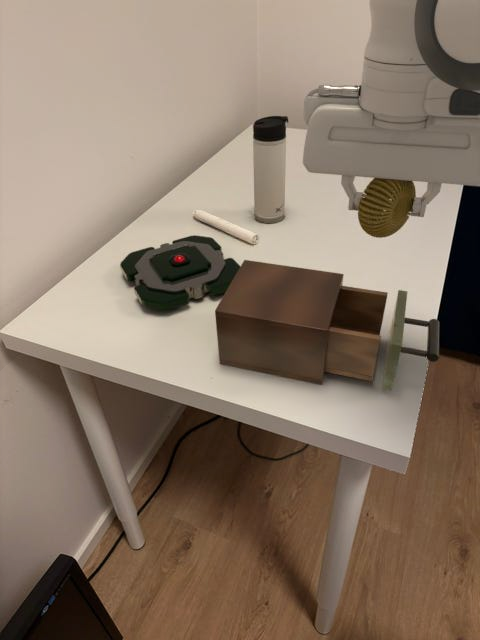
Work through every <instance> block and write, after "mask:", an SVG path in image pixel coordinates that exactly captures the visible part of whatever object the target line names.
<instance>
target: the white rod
mask: <svg viewBox="0 0 480 640" xmlns="http://www.w3.org/2000/svg"><path fill="white" fill-rule="evenodd" d="M192 214H193V216H194V218H195V219H197V220H198V221H200V222H202V223H205V224H207V225H208V226H211V227H213V228H216V229H218V230H220V231H222V232H224V233H227V234H229V235H231V236H233V237H236V238H238V239H240V240H243V241H245V242H246V243H249V244H252V245H256V244H257V243H259V240H260V236H259V234H257V233H256V232H253V231H251V230H249V229H246V228H244V227H242V226H239V225H237V224H235V223H232V222H230V221H227V220H226V219H222V218H221V217H218V216H216V215H214V214H211V213H209V212H207V211H204V210H202V209H194V210H193V211H192Z"/></svg>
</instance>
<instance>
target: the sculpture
mask: <svg viewBox="0 0 480 640" xmlns="http://www.w3.org/2000/svg"><path fill="white" fill-rule="evenodd" d="M416 193H417V191H416V186H415V183H414V181H407V180H394V179H382V178H372V180H370V182H369V183H368V184H367V185H366V187H365V188H364V190H363V194H362V196H363V197H362V198H361V199H360V202H359V208H358V211H357V219H358V223H359V225H360V227H361V229H362V230H363V231H364V232H365V234H367V235H368V236H371V237H373V238H378V239H381V238H382V239H383V238H387V237H390V236H392V235H394V234H396V233H398V231H400V230H401V229H402V228H403V227H404V226H405V224H406V223H407V222H408V221H409V219H410V216H411V211H412V206H413V200H414V197H417V194H416Z"/></svg>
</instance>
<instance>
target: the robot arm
mask: <svg viewBox="0 0 480 640" xmlns="http://www.w3.org/2000/svg"><path fill="white" fill-rule="evenodd" d="M369 12H370V19H371V20H370V21H371V22H370V23H371V25H370V33H369V36H368V41H367V43H366V45H365V49H364V54H363V63H362V74H361V83H360V85H357V84H356V85H346V84H345V85H331V84H320V85H318V87H317V88H315V89H312V90H310V91H309V92H308V93H307V95H306V96H305V98H304V101H303V120H304V122H305V124H306V125H307V128H306V134H305V138H304V144H303V154H302V165H303V166H304V168H305V169H306V171H307V172H308V173H311V174H321V175H333V176H341V180H340V184H341V187H342V188H343V190H344V192H345V194H346V196H347V198H348V206H347V209H348V211H356V212H358V208H359V202H360V199H361V198H362V197H363V196H362V194H364V191H357V189H356V186H355V183H354V181H355V180H356V177H359V178H371V179H374V178H382V179H394V180H407V181H413V182H421V183H427V185H426V191H425V192H424V193H423V194H422V196H421V197H419V196H418V197H417V196H416V197H414V200H413V206H412V211H411V212H410V213H411V215H410V217H414V218H415V217H418V218H424V217H425V214H426V210H427V209H426V208H427V206H428V205H429V204H430V203H431V202H432V201H433V200H434V199H435V198H436V197H437V196H438V194H439V193H441V189H442V184H443V185H444V184H446V185H457V186H470V187H480V0H369Z"/></svg>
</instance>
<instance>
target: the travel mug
mask: <svg viewBox="0 0 480 640" xmlns="http://www.w3.org/2000/svg"><path fill="white" fill-rule="evenodd" d="M286 123H287V124H289V117H288V116H287V115H270V116H265V117H261V118H258V119H257V120H255V121H254V123H253V124H252V132H253V134H252V153H253V155H252V157H253V158H252V159H253V202H254V206H253V207H254V208H253V209H254V218H255V220H257V221H258V222H260V223H263V224H276V223H278V222H281V221H282V220H284V218H285V208H286V207H285V206H286V165H287V164H286V163H287V162H286V161H287V127H286V126H287V125H286Z"/></svg>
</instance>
